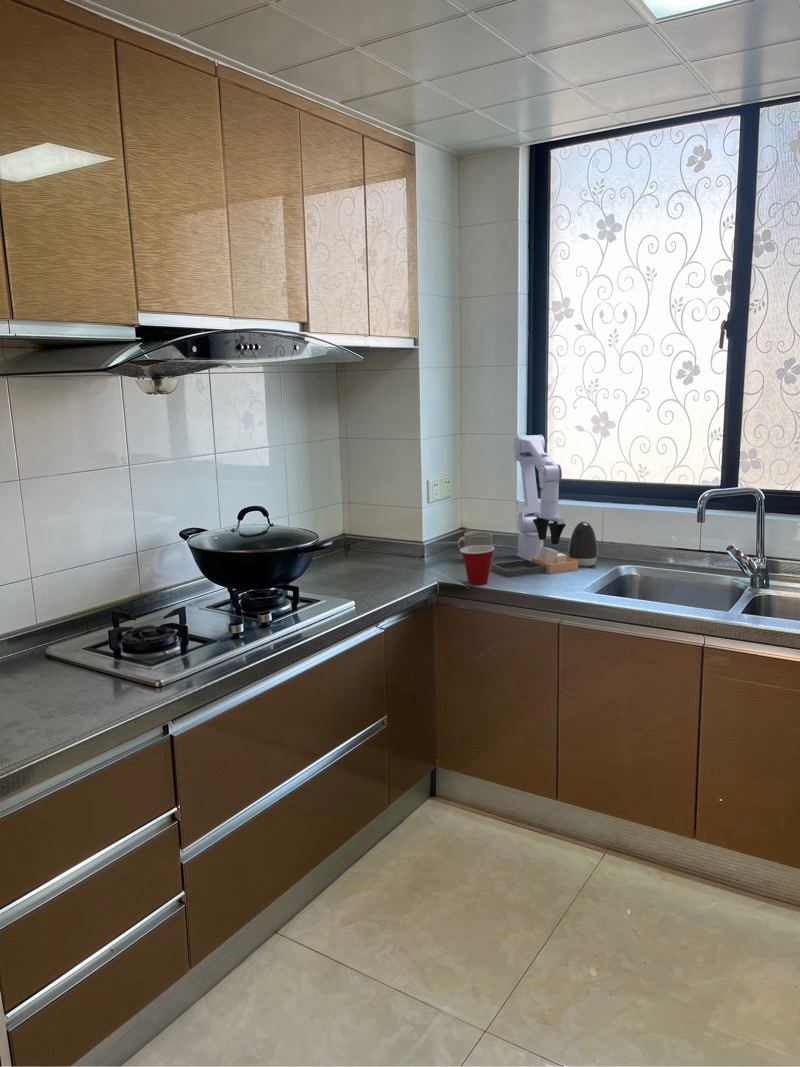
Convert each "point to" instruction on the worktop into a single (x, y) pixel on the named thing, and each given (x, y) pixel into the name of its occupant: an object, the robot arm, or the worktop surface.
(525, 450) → the robot arm
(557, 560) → the stone
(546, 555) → the stone
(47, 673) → the worktop surface
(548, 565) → the terracotta dish
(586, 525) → the dark grey rounded dome
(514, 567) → the parts tray
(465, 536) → the coffee mug
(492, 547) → the plastic cup
